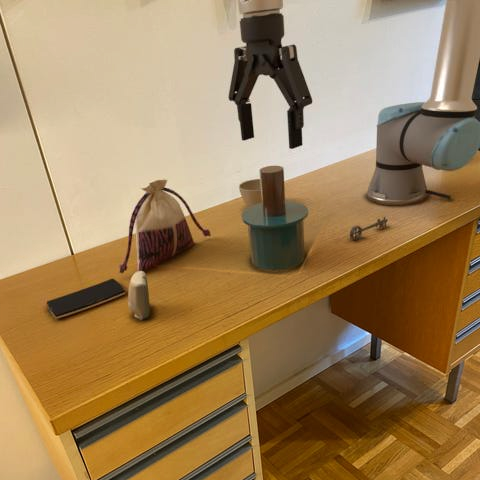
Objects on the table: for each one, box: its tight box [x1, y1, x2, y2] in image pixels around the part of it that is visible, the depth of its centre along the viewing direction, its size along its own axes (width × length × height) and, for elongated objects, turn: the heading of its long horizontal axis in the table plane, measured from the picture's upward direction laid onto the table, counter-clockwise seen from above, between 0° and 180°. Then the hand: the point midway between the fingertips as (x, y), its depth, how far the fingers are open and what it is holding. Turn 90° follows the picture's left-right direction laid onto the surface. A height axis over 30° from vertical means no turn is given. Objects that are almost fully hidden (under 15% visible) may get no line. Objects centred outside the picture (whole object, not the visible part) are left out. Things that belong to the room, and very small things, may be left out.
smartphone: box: [46, 278, 127, 319], centre depth 101 cm, size 7×1×15 cm
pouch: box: [118, 178, 212, 274], centre depth 109 cm, size 25×8×19 cm, turn 138°
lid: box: [240, 165, 309, 228], centre depth 100 cm, size 14×14×10 cm
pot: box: [247, 220, 306, 271], centre depth 105 cm, size 12×12×10 cm
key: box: [349, 216, 388, 241], centre depth 113 cm, size 12×1×3 cm, turn 124°
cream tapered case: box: [127, 270, 151, 321], centre depth 92 cm, size 6×5×8 cm
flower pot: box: [238, 178, 262, 208], centre depth 133 cm, size 10×10×7 cm
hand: (270, 142), depth 95 cm, fingers open, 13 cm apart
